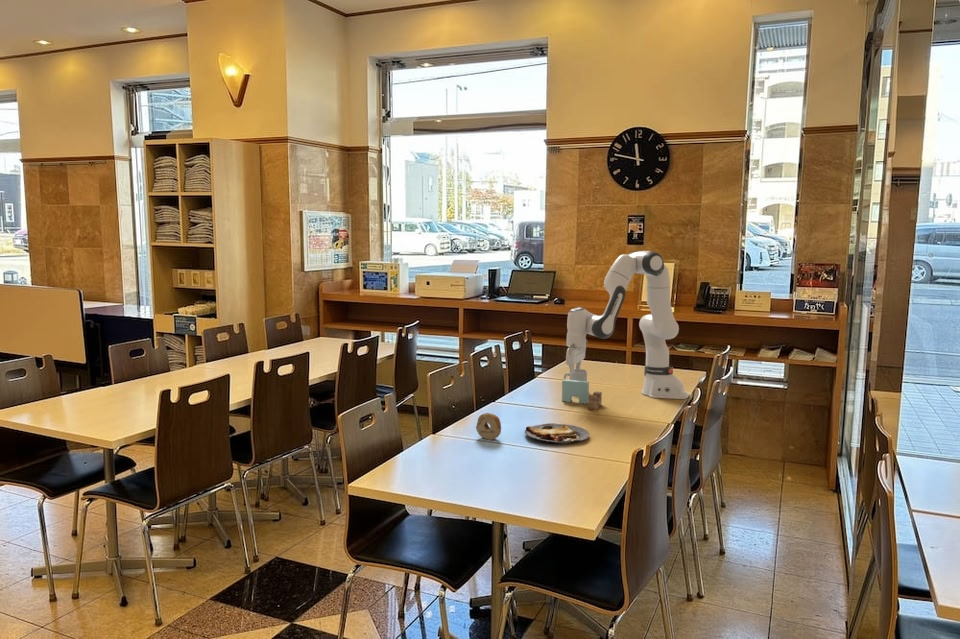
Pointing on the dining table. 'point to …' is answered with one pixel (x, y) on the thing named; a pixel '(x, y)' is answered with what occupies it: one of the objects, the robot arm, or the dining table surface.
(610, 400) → the dining table surface
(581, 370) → the mug
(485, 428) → the stone disc
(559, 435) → the food plate
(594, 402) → the brown notched block
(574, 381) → the teal notched block
